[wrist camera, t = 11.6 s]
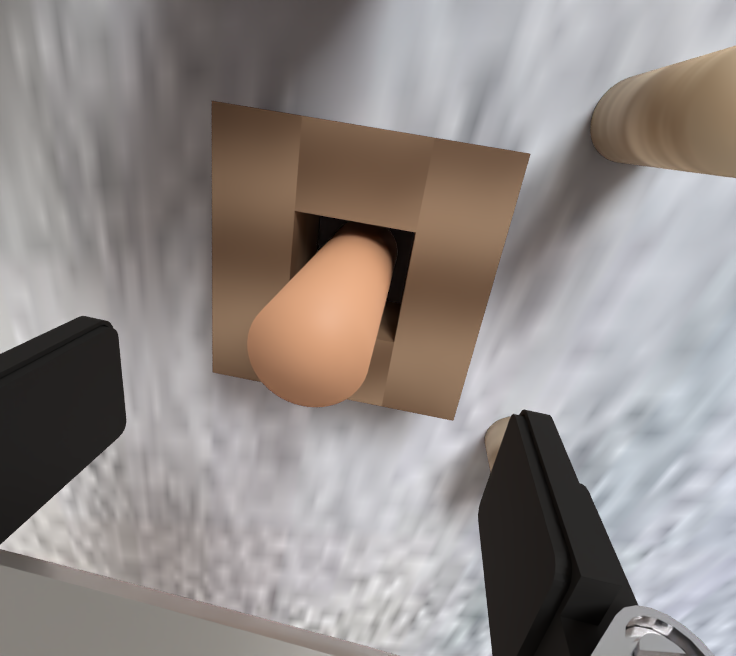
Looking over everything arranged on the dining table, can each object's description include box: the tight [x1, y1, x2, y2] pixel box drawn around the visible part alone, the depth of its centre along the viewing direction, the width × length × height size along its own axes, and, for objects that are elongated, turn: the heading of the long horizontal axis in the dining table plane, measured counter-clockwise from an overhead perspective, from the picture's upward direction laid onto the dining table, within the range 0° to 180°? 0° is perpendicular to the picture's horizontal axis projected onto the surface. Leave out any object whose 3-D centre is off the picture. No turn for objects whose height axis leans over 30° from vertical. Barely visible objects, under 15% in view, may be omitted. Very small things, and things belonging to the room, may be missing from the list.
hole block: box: [212, 101, 530, 421], centre depth 21 cm, size 12×12×5 cm
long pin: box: [247, 221, 397, 407], centre depth 17 cm, size 4×4×12 cm
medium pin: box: [590, 46, 736, 178], centre depth 15 cm, size 4×4×8 cm
